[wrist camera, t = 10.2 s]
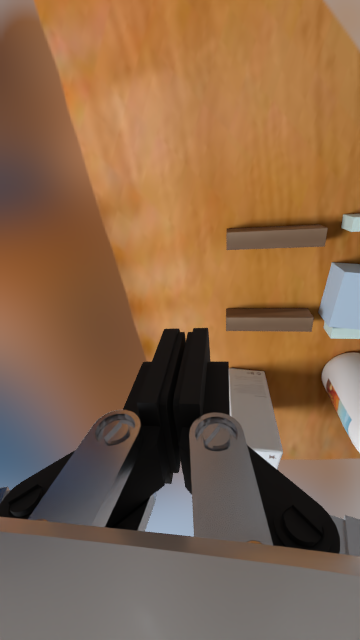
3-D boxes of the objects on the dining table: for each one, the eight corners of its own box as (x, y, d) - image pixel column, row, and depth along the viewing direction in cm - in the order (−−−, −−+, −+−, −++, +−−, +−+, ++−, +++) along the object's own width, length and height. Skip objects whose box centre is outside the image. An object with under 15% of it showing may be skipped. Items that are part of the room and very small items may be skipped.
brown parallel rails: (226, 228, 36) (226, 232, 33) (319, 224, 34) (327, 228, 31) (226, 321, 41) (226, 330, 38) (305, 321, 39) (311, 331, 37)
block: (331, 261, 36) (345, 272, 32) (390, 265, 35) (412, 276, 31) (317, 311, 39) (328, 326, 35) (371, 316, 38) (389, 332, 34)
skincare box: (227, 366, 45) (229, 444, 31) (267, 370, 44) (285, 451, 31) (223, 406, 48) (223, 491, 35) (259, 410, 48) (273, 498, 34)
